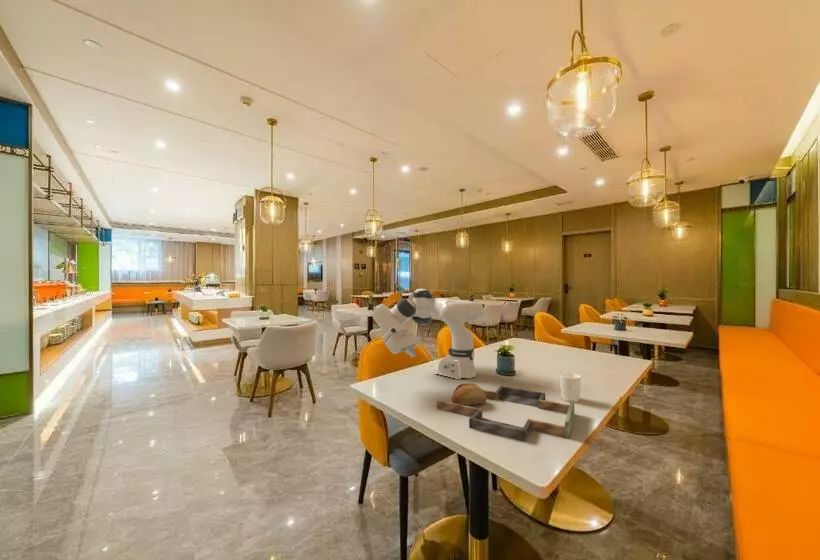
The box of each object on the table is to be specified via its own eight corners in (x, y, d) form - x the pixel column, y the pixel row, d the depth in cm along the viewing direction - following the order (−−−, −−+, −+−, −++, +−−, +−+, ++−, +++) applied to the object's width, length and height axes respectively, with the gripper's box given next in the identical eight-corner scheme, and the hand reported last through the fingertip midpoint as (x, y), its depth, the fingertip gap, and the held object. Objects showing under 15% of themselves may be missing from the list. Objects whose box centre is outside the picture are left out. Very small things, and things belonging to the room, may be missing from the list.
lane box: (425, 417, 117) (425, 403, 117) (465, 386, 150) (465, 375, 150) (566, 451, 93) (566, 434, 93) (576, 405, 126) (576, 393, 126)
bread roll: (446, 402, 131) (446, 383, 131) (478, 397, 136) (478, 379, 136) (458, 411, 122) (457, 390, 122) (491, 406, 127) (491, 386, 127)
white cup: (576, 396, 136) (575, 372, 136) (584, 403, 129) (584, 378, 129) (557, 395, 137) (556, 372, 137) (564, 402, 129) (563, 378, 129)
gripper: (403, 334, 157) (421, 356, 152) (379, 340, 140) (397, 365, 135) (411, 325, 155) (429, 347, 150) (387, 331, 137) (406, 356, 132)
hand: (414, 356), depth 142 cm, fingers closed
